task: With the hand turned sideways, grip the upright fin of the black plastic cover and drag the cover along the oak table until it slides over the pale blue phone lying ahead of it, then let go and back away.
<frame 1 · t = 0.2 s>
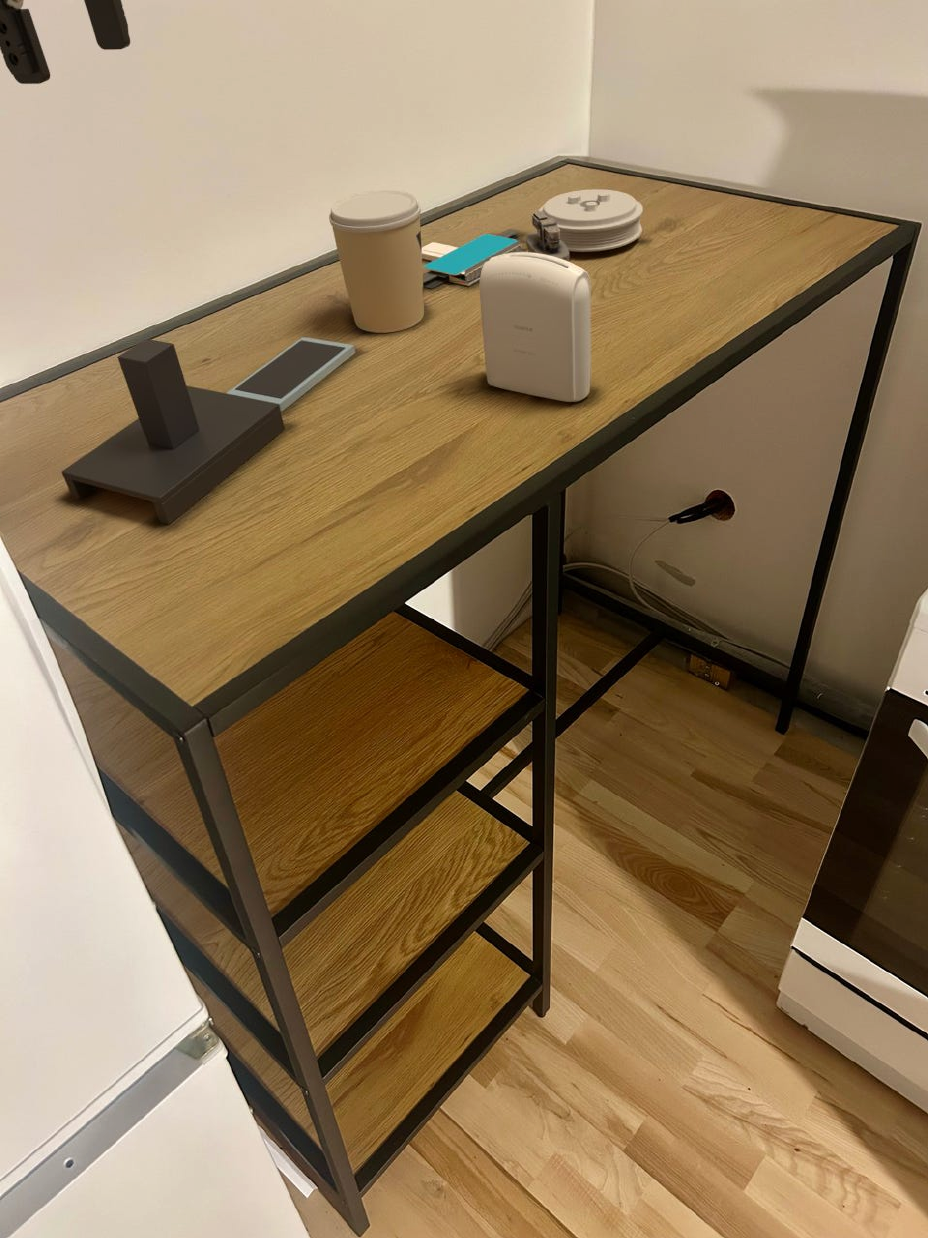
hand: (76, 64, 59), 31 cm above the table, tool pointing down, fingers open, 8 cm apart
cover: (182, 462, 82), on the table
coffee cup: (389, 319, 101), on the table
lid: (589, 241, 114), on the table
photo printer: (538, 389, 87), on the table
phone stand: (461, 262, 112), on the table
phone: (293, 376, 92), on the table
lighter: (548, 317, 99), on the table
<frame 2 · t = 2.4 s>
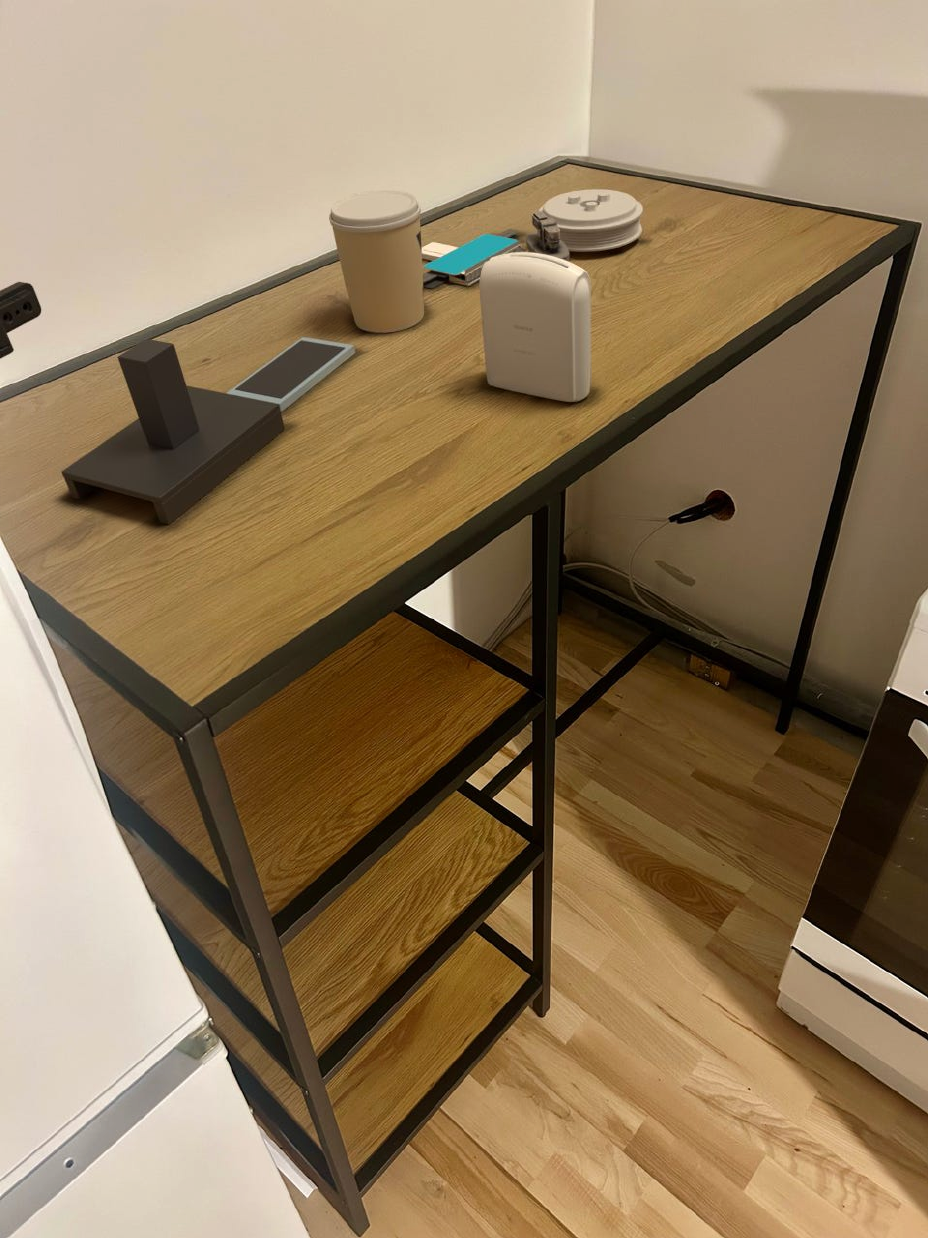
nothing on the table moved.
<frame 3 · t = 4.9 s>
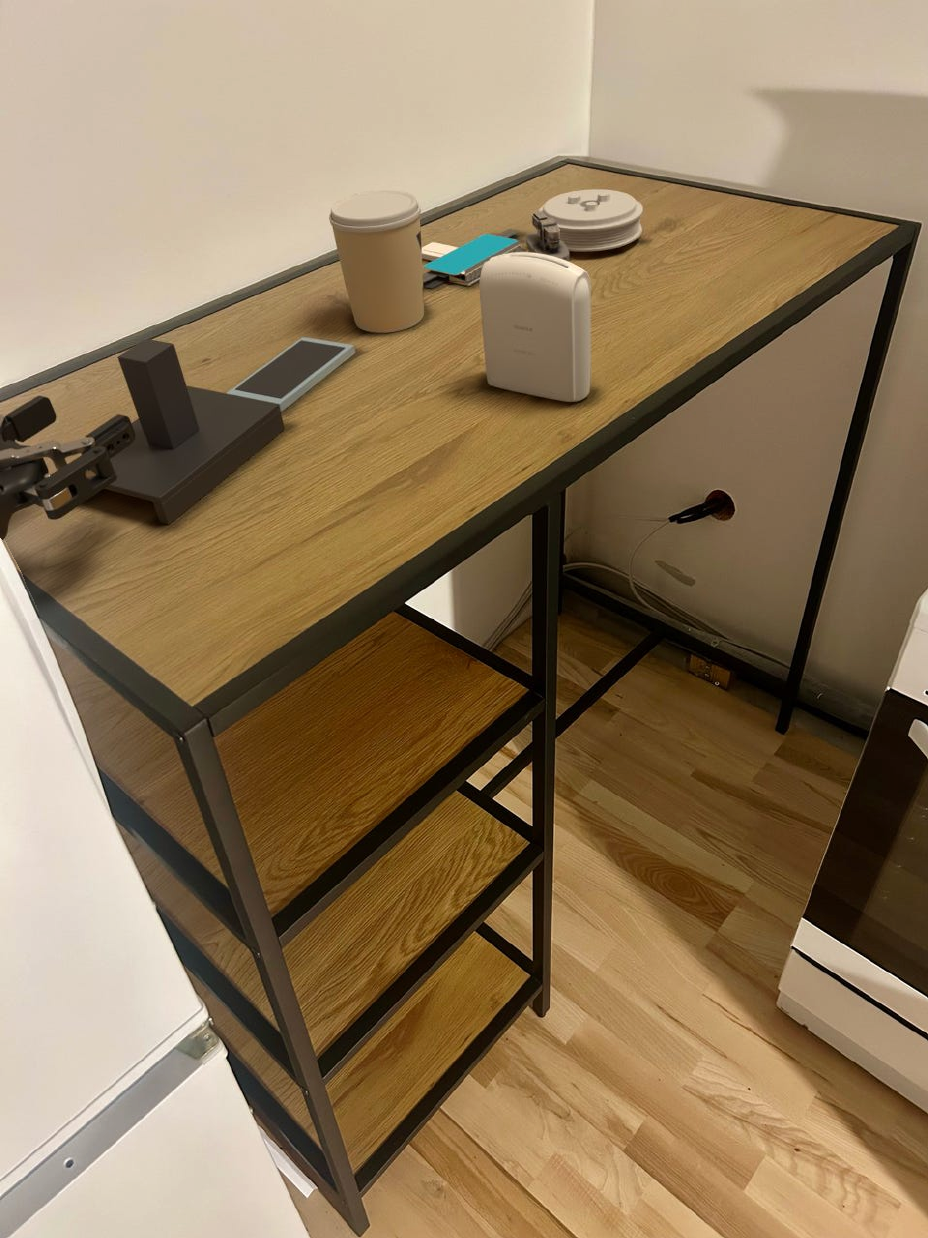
hand: (88, 415, 71), 8 cm above the table, tool horizontal, fingers open, 8 cm apart
nothing on the table moved.
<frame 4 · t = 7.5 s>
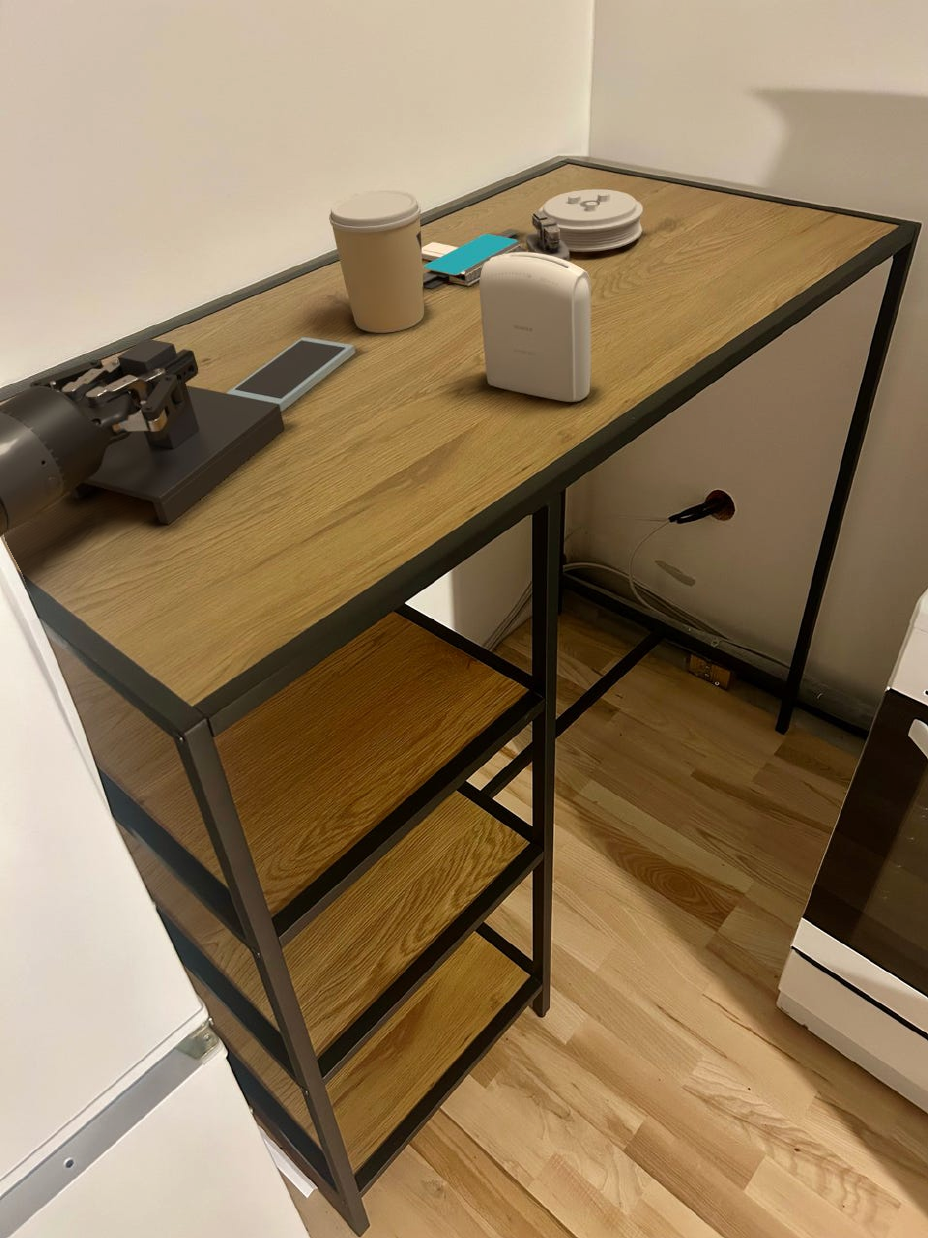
hand: (175, 357, 78), 9 cm above the table, tool horizontal, fingers closed on cover, 3 cm apart
cover: (182, 462, 82), on the table, touching gripper
everything else where it was.
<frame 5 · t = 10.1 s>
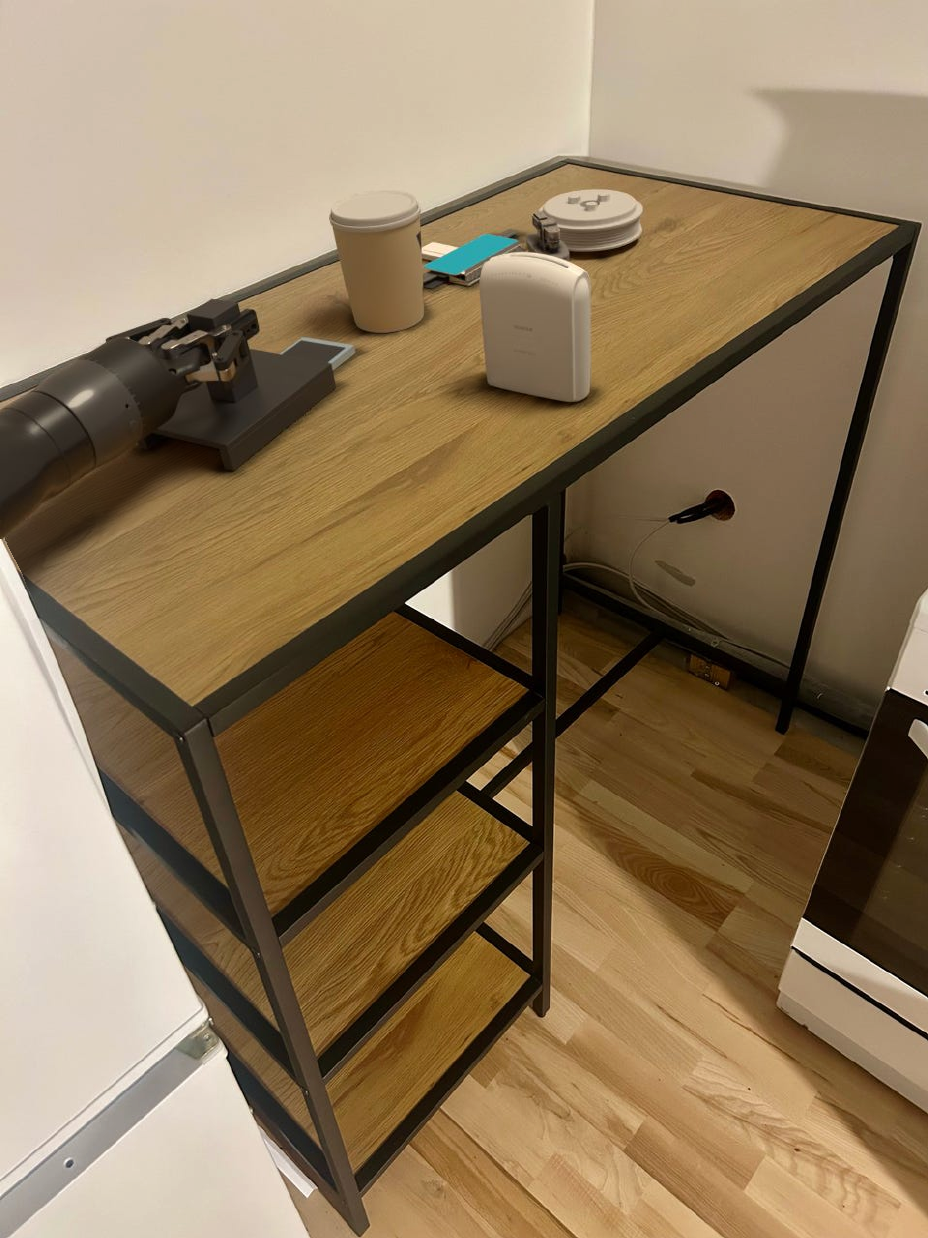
hand: (237, 316, 83), 9 cm above the table, tool horizontal, fingers closed on cover, 3 cm apart
cover: (241, 416, 87), on the table, touching gripper
everything else where it was.
when the fingers open (9 cm above the table, at t = 12.7 s): cover stays where it is, on the table.
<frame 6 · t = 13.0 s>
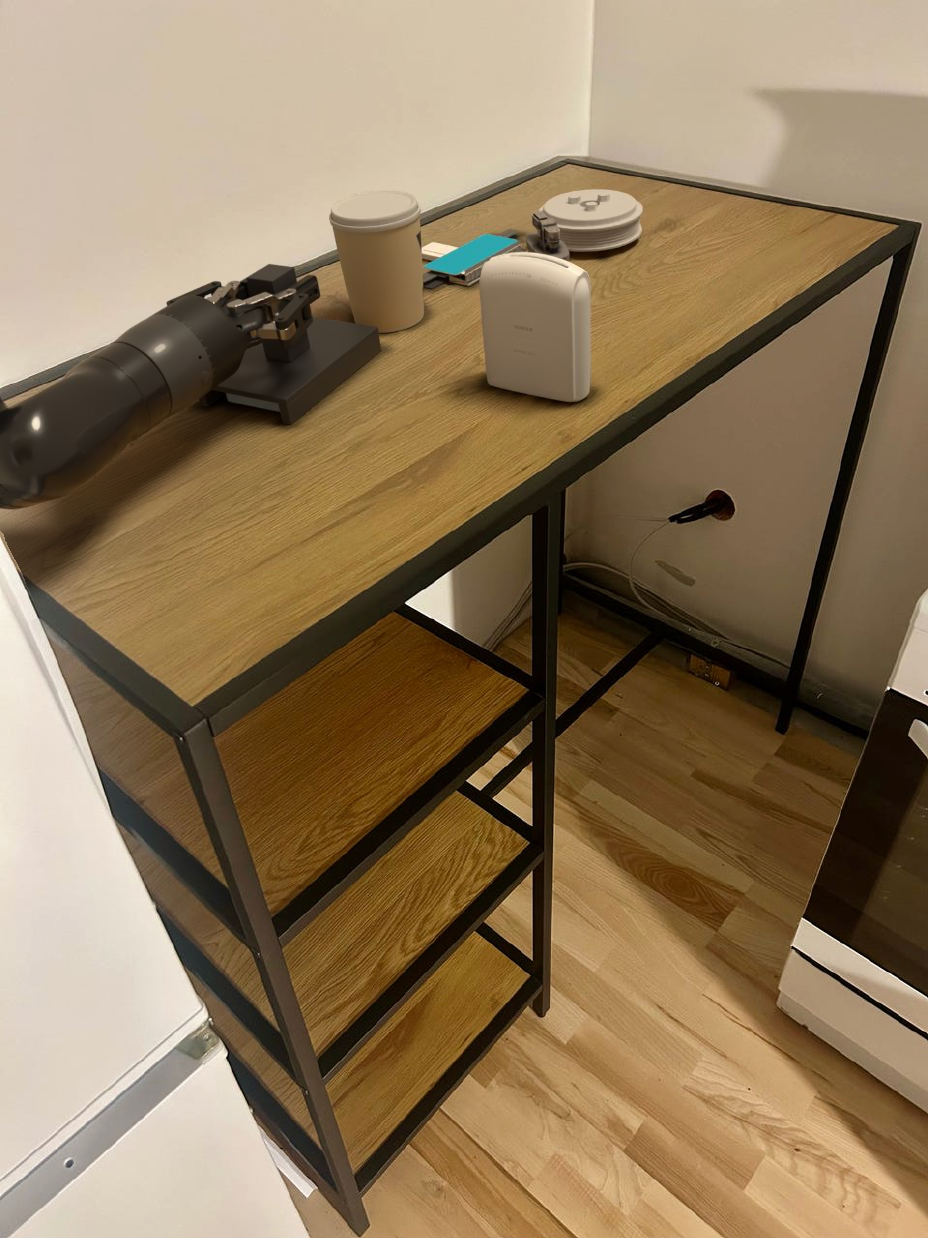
hand: (291, 281, 88), 9 cm above the table, tool horizontal, fingers open, 5 cm apart
cover: (293, 377, 92), on the table
everything else where it was.
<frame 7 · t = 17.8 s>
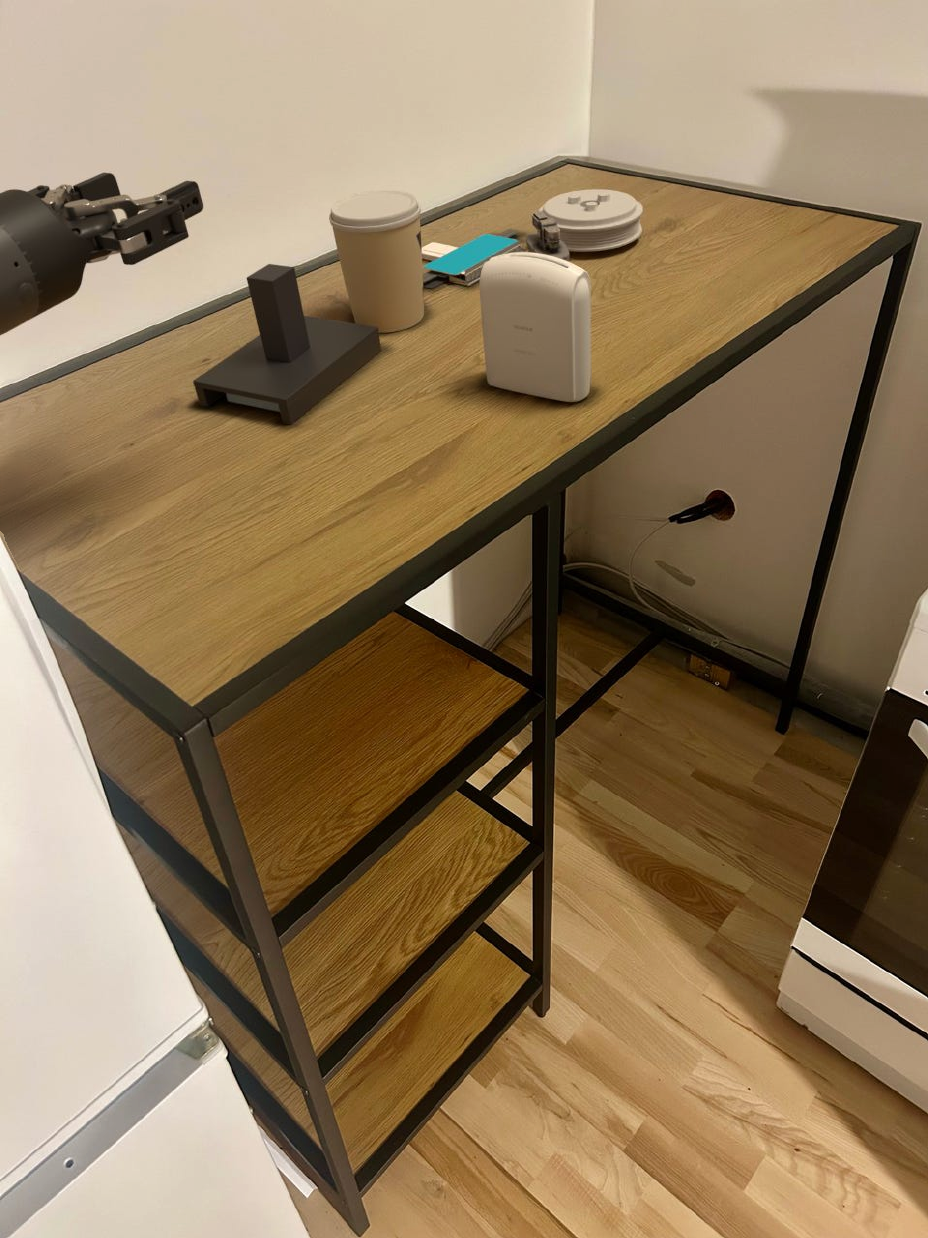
hand: (154, 189, 71), 21 cm above the table, tool horizontal, fingers open, 8 cm apart
nothing on the table moved.
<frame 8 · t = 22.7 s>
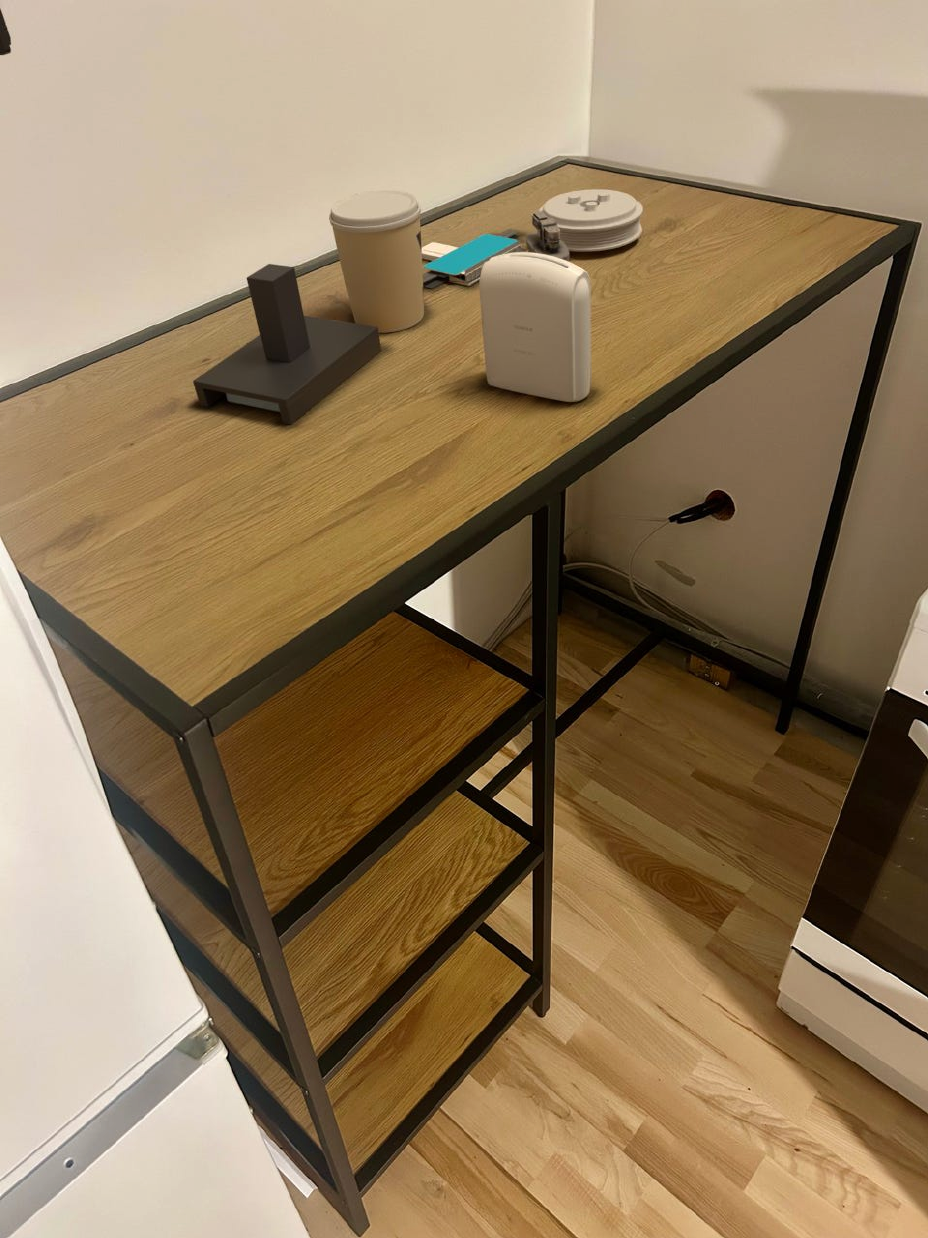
nothing on the table moved.
at the end: cover 0.1 cm from the phone (horizontally); cover tilted 0°; the gripper is holding nothing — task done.
